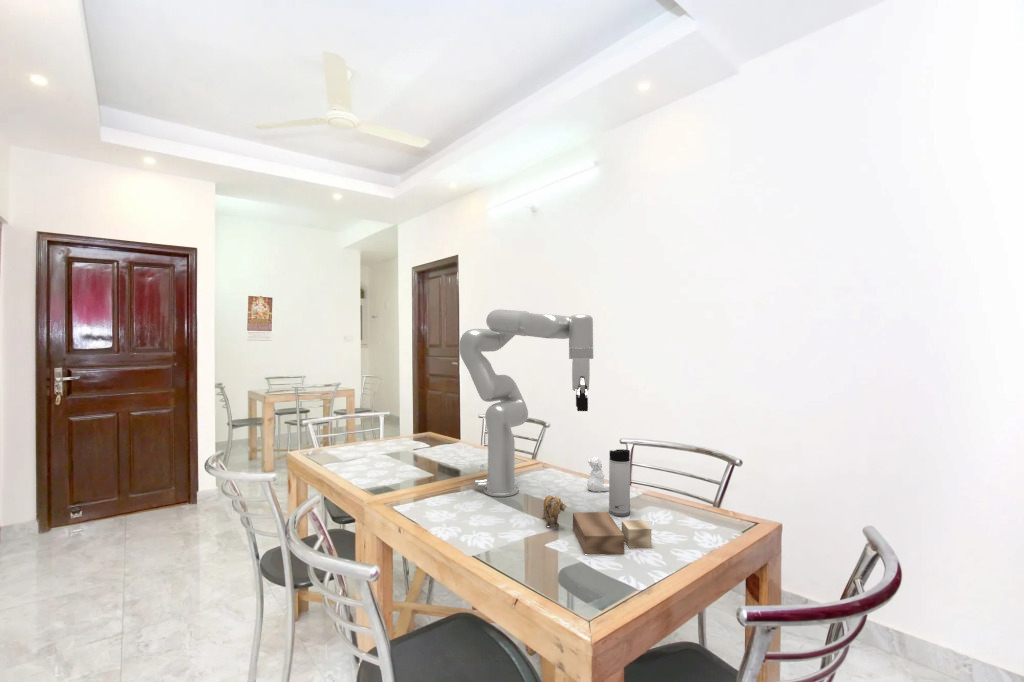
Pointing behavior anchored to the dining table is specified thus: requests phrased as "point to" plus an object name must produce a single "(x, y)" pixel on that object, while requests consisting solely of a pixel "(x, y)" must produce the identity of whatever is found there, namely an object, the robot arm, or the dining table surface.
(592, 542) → the walnut block
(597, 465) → the seated beast figurine
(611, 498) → the travel mug
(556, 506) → the lion figurine
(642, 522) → the oak block
